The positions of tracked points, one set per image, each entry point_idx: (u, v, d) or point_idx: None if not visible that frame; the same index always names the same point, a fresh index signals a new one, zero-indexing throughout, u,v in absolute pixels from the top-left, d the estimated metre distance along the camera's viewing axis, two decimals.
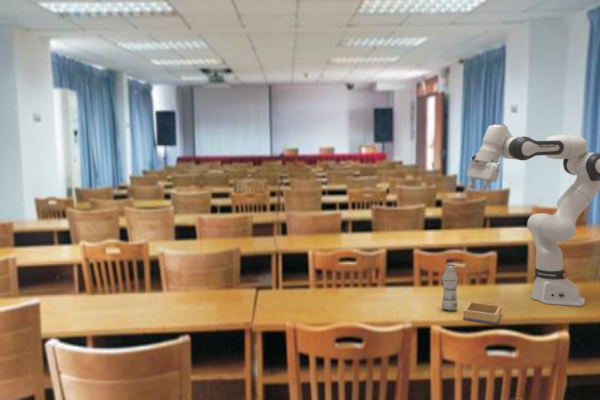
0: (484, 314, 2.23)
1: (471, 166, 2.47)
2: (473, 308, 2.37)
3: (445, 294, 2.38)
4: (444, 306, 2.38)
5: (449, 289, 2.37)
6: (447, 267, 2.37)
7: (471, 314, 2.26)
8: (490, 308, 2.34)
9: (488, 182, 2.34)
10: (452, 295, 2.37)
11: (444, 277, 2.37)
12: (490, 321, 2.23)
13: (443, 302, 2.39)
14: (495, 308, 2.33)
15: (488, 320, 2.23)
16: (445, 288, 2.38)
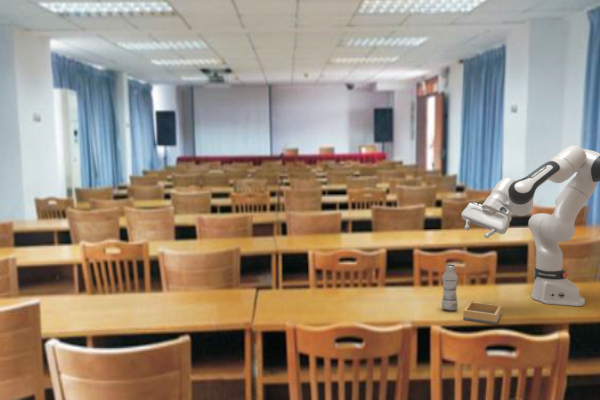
0: (484, 314, 2.23)
1: None
2: (473, 308, 2.37)
3: (445, 294, 2.38)
4: (444, 306, 2.38)
5: (449, 289, 2.37)
6: (447, 267, 2.37)
7: (471, 314, 2.26)
8: (490, 308, 2.34)
9: None
10: (452, 295, 2.37)
11: (444, 277, 2.37)
12: (490, 321, 2.23)
13: (443, 302, 2.39)
14: (495, 308, 2.33)
15: (488, 320, 2.23)
16: (445, 288, 2.38)
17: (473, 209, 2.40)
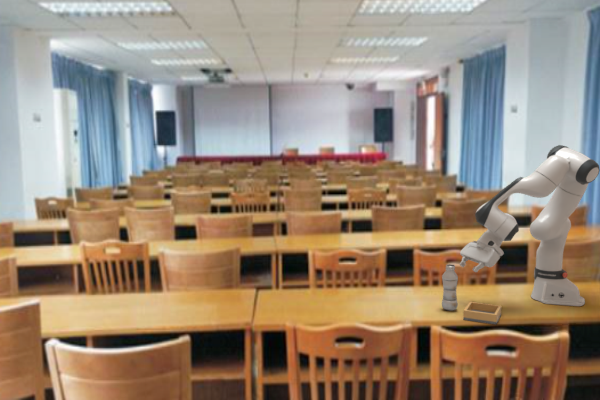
0: (484, 314, 2.23)
1: None
2: (473, 308, 2.37)
3: (445, 294, 2.38)
4: (444, 306, 2.38)
5: (449, 289, 2.37)
6: (447, 267, 2.37)
7: (471, 314, 2.26)
8: (490, 308, 2.34)
9: None
10: (452, 295, 2.37)
11: (444, 277, 2.37)
12: (490, 321, 2.23)
13: (443, 302, 2.39)
14: (495, 308, 2.33)
15: (488, 320, 2.23)
16: (445, 288, 2.38)
17: (470, 246, 2.46)
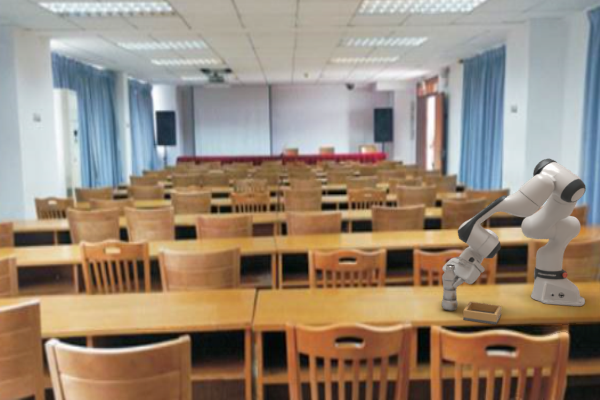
0: (484, 314, 2.23)
1: None
2: (473, 308, 2.37)
3: (445, 294, 2.38)
4: (444, 306, 2.38)
5: (449, 289, 2.37)
6: (447, 267, 2.37)
7: (471, 314, 2.26)
8: (490, 308, 2.34)
9: None
10: (452, 295, 2.37)
11: (444, 277, 2.37)
12: (490, 321, 2.23)
13: (443, 302, 2.39)
14: (495, 308, 2.33)
15: (488, 320, 2.23)
16: (445, 288, 2.38)
17: (452, 262, 2.45)
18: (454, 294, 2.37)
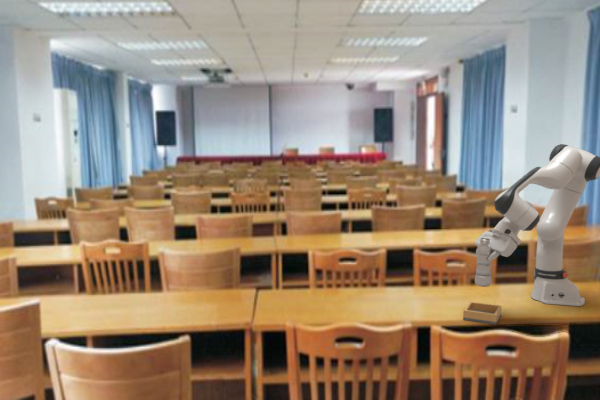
0: (484, 314, 2.23)
1: None
2: (473, 308, 2.37)
3: (479, 269, 2.26)
4: (477, 282, 2.27)
5: (483, 264, 2.25)
6: (482, 241, 2.25)
7: (471, 314, 2.26)
8: (490, 308, 2.34)
9: None
10: (486, 271, 2.25)
11: (478, 251, 2.25)
12: (490, 321, 2.23)
13: (476, 278, 2.27)
14: (495, 308, 2.33)
15: (488, 320, 2.23)
16: (479, 263, 2.26)
17: (485, 236, 2.34)
18: (488, 269, 2.25)
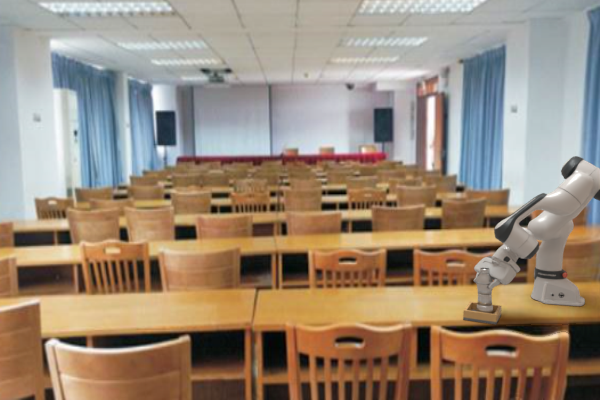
0: (484, 314, 2.23)
1: None
2: (473, 308, 2.37)
3: (480, 299, 2.27)
4: None
5: (484, 293, 2.25)
6: (481, 270, 2.26)
7: (471, 314, 2.26)
8: None
9: None
10: (487, 300, 2.25)
11: (478, 281, 2.26)
12: (490, 321, 2.23)
13: (478, 307, 2.27)
14: (495, 308, 2.33)
15: (488, 320, 2.23)
16: (480, 292, 2.26)
17: (485, 262, 2.35)
18: (489, 299, 2.26)
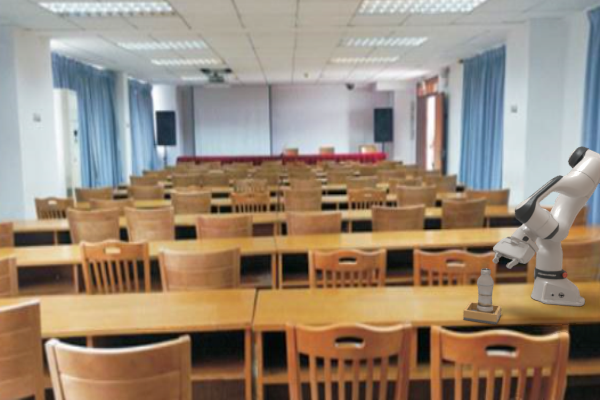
0: (484, 314, 2.23)
1: None
2: (473, 308, 2.37)
3: (480, 300, 2.26)
4: None
5: (485, 295, 2.25)
6: (482, 271, 2.25)
7: (471, 314, 2.26)
8: None
9: None
10: (488, 301, 2.25)
11: (479, 282, 2.25)
12: (490, 321, 2.23)
13: (478, 308, 2.27)
14: (495, 308, 2.33)
15: (488, 320, 2.23)
16: (480, 293, 2.26)
17: (504, 242, 2.38)
18: (490, 300, 2.25)
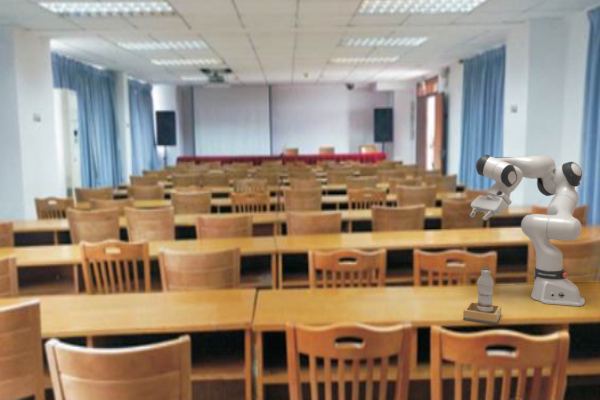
0: (484, 314, 2.23)
1: None
2: (473, 308, 2.37)
3: (480, 300, 2.26)
4: None
5: (485, 295, 2.25)
6: (483, 271, 2.25)
7: (471, 314, 2.26)
8: None
9: None
10: (488, 301, 2.25)
11: (479, 282, 2.25)
12: (490, 321, 2.23)
13: (478, 308, 2.27)
14: (495, 308, 2.33)
15: (488, 320, 2.23)
16: (480, 294, 2.26)
17: (480, 199, 2.62)
18: (490, 300, 2.25)
